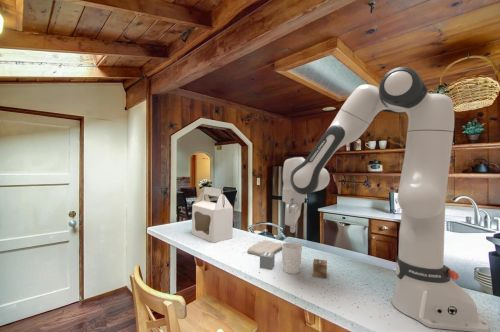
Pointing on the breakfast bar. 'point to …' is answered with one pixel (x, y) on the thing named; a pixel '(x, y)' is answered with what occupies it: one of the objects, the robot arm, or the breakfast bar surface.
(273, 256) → the slate-grey block
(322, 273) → the walnut block
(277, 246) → the washcloth
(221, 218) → the gable box
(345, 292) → the breakfast bar surface
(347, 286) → the breakfast bar surface
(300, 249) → the white cup
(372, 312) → the breakfast bar surface
